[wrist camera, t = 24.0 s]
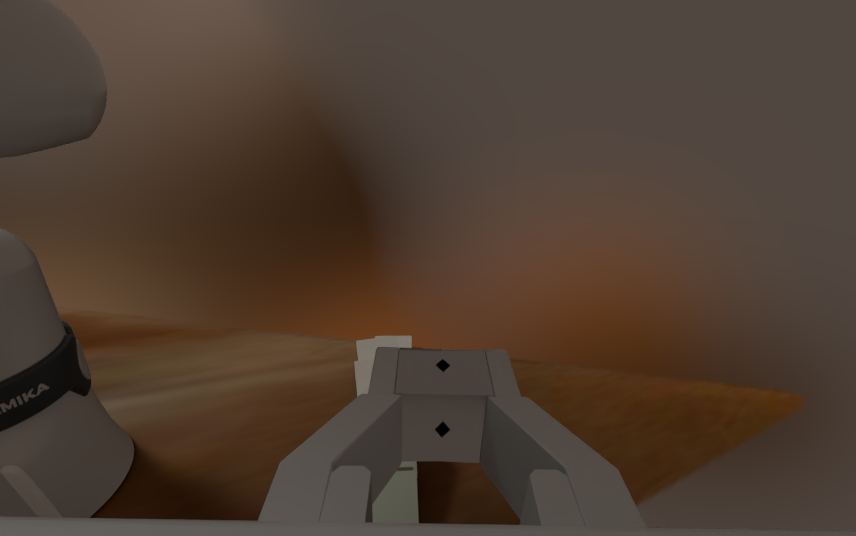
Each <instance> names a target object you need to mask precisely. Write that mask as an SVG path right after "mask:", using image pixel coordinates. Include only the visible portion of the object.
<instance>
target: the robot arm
mask: <svg viewBox="0 0 856 536" xmlns="http://www.w3.org/2000/svg"><path fill="white" fill-rule="evenodd" d="M106 100H107V86H106V80H105V76H104V72H103V69H102V66H101V63H100V61H99V58H98V56H97V54H96V52H95V50H94V49H93V47H92V45H91V44H90V42H89V41H88V39H87V38H86V37H85V35H84V34H83V33H82V31H81V30H80V29H79V28H78V27H77V26H76V24H74V22H73V21H72V20H71V19H70V18H69V17H68V16H67V15H66V14H65V13H64V12H63V11H62V10H60V9H59V8H58V7H57V6H55V5H54V4H53V3H51V2H50V1H49V0H0V158H4V157H17V156H21V155H26V154H30V153H34V152H38V151H43V150H47V149H51V148H55V147H58V146H62V145H66V144H70V143H73V142H77V141H81V140H84V139H87V138H89V137H90V136H91V135H92V134H93V133H94V131H95V130H96V128H97V127H98V125H99V124H100V122H101V119H102V117H103V115H104V111H105V107H106ZM133 456H134V445H133V442H132V439H131V438H130V436H129V435H128V434H127V433H126V432H125V431H124V430H123V429H122V428H121V427H120V426H119V425H118V424H117V423H116V422H115V421H114V420H113V419H112V418H111V416H110V415H109V414H108V412H107V411H106V410H105V408H104V407H103V405H102V404H101V402H100V401H99V399H98V398H97V396H96V394H95V393H94V391H93V389H92V387H91V373H90V370H89V367H88V364H87V362H86V359H85V356H84V353H83V351H82V348H81V346H80V343H79V341H78V339H77V338H75V336H74V334H73V331H72V329H71V327H70V326H69V325H68V324H67V323H65V322H64V321H61V319H60V316H59V314H58V311H57V309H56V306H55V303H54V301H53V298H52V296H51V293H50V291H49V288H48V286H47V283H46V281H45V278H44V275H43V273H42V270H41V268H40V265H39V263H38V260H37V258H36V256H35V253H34V252H33V251H32V249H31V248H30V247H29V246H28V245H27V244H26V243H25V242H24V241H22V240H21V239H20V238H18V237H17V236H15V235H13V234H12V233H10V232H8V231H6V230H4V229H1V228H0V536H856V531H848V530H847V531H846V530H789V529H787V530H786V529H726V528H661V527H659V528H658V527H646V526H645V524H644V522H643V520H642V518H641V516H640V514H639V512H638V510H637V508H636V506H635V504H634V501H633V499H632V497H631V495H630V493H629V491H628V489H627V487H626V485H625V483H624V481H623V479H622V477H621V475H620V473H619V471H618V469H617V468H615V467H614V466H613V465H612V464H610V463H609V462H608V461H607V460H605V459H604V458H603V457H602V456H600V455H599V454H598V453H597V452H595V451H594V450H593V449H592V448H590V447H589V446H588V445H587V444H585V443H584V442H583V441H582V440H580V439H579V438H578V437H577V436H575V435H574V434H573V433H572V432H570V431H569V430H568V429H567V428H565V427H564V426H563V425H562V424H560V423H559V422H558V421H557V420H555V419H554V418H553V417H552V416H550V415H549V414H548V413H547V412H545V411H544V410H543V409H542V408H540V407H539V406H538V405H537V404H535V403H534V402H533V401H532V400H530V399H529V398H528V397H521V395H520V392H519V389H518V385H517V382H516V379H515V375H514V372H513V369H512V366H511V362H510V359H509V356H508V352H507V351H506V350H442V349H425V348H402V347H400V348H398V347H377V349H376V352H375V358H374V363H373V368H372V374H371V379H370V385H369V390H368V394H360V395H359V396H358V397H357V398H356V399H354V400H353V401H352V402H351V403H350V404H349V405H347V406H346V407H345V408H344V409H343V410H341V411H340V412H339V413H338V414H337V415H336V416H334V417H333V418H332V419H331V420H330V421H328V422H327V423H326V424H325V425H324V426H322V427H321V428H320V429H319V430H318V431H317V432H315V433H314V434H313V435H312V436H311V437H309V438H308V439H307V440H306V441H305V442H304V443H302V444H301V445H300V446H299V447H298V448H296V449H295V450H294V451H293V452H292V453H291V454H289V455H288V456H287V457H286V458H285V459H283V460H282V461H281V462H280V464H279V467H278V469H277V472H276V474H275V477H274V480H273V482H272V485H271V487H270V490H269V493H268V495H267V498H266V500H265V503H264V506H263V508H262V511H261V513H260V516H259V519H258V521H244V520H183V519H122V518H90V517H91V516H92V515H93V514H94V513H95V512H96V511H97V510H98V509H99V508H100V507H102V506H103V505H104V504H105V503H106V502H107V500H108V499H109V498H110V497H111V496H112V495H113V494H114V492H115V491H116V490H117V489H118V487H119V486H120V485H121V483H122V482H123V480H124V479H125V477H126V475H127V473H128V471H129V469H130V467H131V464H132V461H133ZM440 460H441V461H448V462H469V463H480V466H481V467H482V469H483V470H484V471H485V473H486V474H487V475H488V477H489V478H490V479H491V481H492V482H493V483H494V485H495V486H496V488H497V489H498V490H499V492H500V493H501V494H502V496H503V497H504V498H505V500H506V501H507V502H508V504H509V505H510V506H511V508H512V509H513V510H514V512H515V513H516V514H517V516H518V517H519V518H520V520H521V521H520V525H490V524H428V523H373V515H372V505H373V503H374V502H375V500H376V499H377V498H378V496H379V495H380V493H381V492H382V490H383V489H384V488H385V486H386V485H387V483H388V482H389V481H390V479H391V478H392V476H393V475H394V474H395V472H396V471H397V469H398V468H399V466H400V465H401V461H440Z"/></svg>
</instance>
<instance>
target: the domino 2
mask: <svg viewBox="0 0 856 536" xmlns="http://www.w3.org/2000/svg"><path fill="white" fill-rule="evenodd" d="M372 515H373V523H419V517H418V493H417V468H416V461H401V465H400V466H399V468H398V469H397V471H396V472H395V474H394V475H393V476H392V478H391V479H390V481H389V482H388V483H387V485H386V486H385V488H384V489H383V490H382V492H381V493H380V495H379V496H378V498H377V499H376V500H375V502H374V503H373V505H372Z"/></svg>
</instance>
